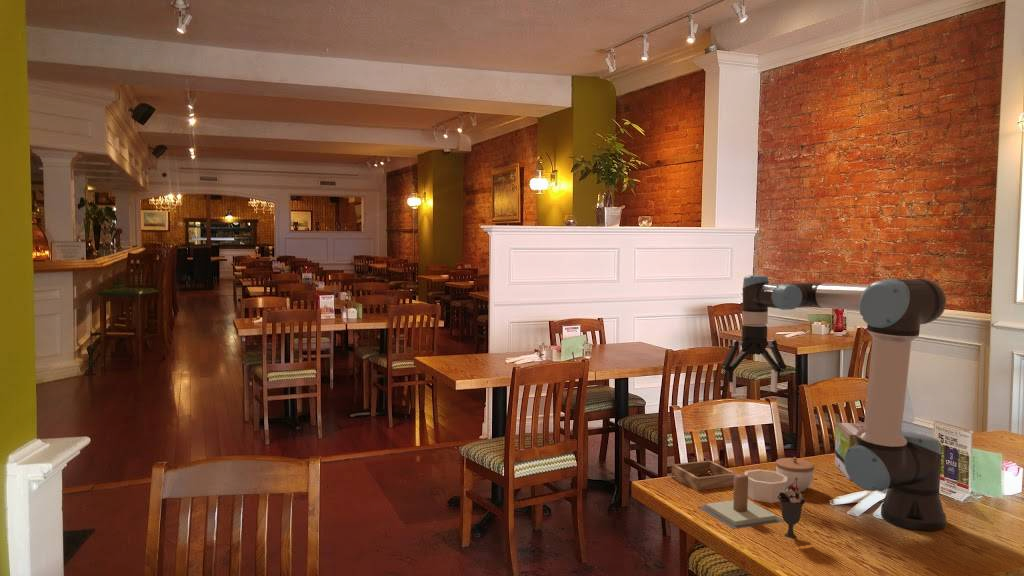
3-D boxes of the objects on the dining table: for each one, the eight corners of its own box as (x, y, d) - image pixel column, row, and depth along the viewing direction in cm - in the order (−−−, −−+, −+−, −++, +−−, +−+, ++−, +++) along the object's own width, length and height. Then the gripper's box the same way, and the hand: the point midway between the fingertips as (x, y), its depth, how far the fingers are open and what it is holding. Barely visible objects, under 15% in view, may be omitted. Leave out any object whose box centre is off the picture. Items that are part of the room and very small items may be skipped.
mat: (784, 523, 188) (784, 521, 188) (733, 531, 183) (733, 529, 183) (746, 502, 203) (746, 500, 203) (697, 509, 198) (697, 506, 198)
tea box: (833, 465, 237) (834, 421, 236) (865, 466, 236) (867, 422, 235) (848, 480, 222) (849, 433, 221) (882, 482, 221) (884, 434, 220)
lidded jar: (819, 495, 210) (820, 463, 209) (782, 494, 210) (783, 463, 209) (805, 482, 220) (806, 452, 220) (770, 482, 220) (770, 452, 220)
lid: (776, 519, 189) (777, 481, 188) (734, 526, 185) (735, 486, 184) (745, 502, 201) (746, 466, 201) (705, 508, 197) (706, 471, 196)
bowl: (795, 501, 204) (796, 480, 204) (761, 506, 200) (761, 485, 200) (768, 487, 215) (768, 468, 215) (735, 492, 212) (735, 472, 211)
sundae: (803, 534, 181) (805, 476, 180) (805, 545, 175) (807, 485, 174) (776, 531, 183) (777, 473, 182) (776, 541, 177) (778, 481, 176)
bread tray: (737, 486, 216) (737, 473, 216) (697, 492, 211) (697, 478, 211) (709, 472, 229) (710, 460, 229) (671, 477, 225) (671, 464, 224)
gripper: (786, 323, 229) (785, 388, 231) (711, 323, 227) (710, 390, 228) (798, 325, 222) (796, 393, 223) (721, 326, 219) (720, 395, 220)
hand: (753, 392), depth 226 cm, fingers open, 13 cm apart
